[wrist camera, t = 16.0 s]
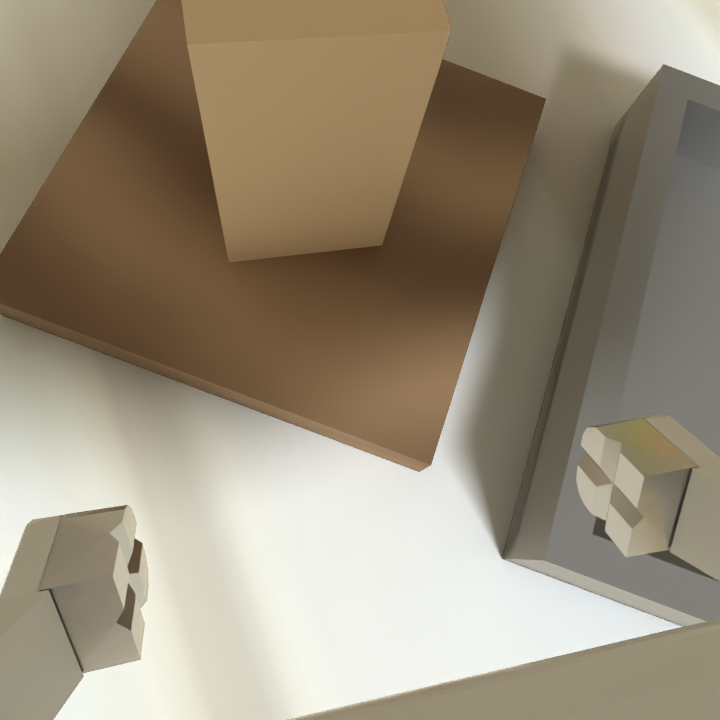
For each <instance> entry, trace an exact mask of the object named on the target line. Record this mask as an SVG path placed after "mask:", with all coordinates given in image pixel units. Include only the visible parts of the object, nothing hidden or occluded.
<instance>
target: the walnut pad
mask: <svg viewBox="0 0 720 720" xmlns="http://www.w3.org/2000/svg"><path fill="white" fill-rule="evenodd" d="M545 101H546V99H545V98H542V97H540V96H537V95H534V94H532V93H529V92H527V91H524V90H521V89H519V88H516V87H513V86H511V85H508V84H506V83H503V82H500V81H498V80H495V79H492V78H490V77H487V76H485V75H482V74H479V73H477V72H474V71H471V70H469V69H466V68H464V67H461V66H458V65H456V64H453V63H450V62H448V61H445V60H443V59H442V61H441V65H440V68H439V71H438V74H437V77H436V80H435V83H434V86H433V89H432V92H431V95H430V99H429V102H428V105H427V108H426V111H425V114H424V117H423V120H422V123H421V126H420V130H419V133H418V136H417V139H416V142H415V145H414V148H413V151H412V154H411V157H410V160H409V164H408V167H407V170H406V173H405V176H404V179H403V182H402V185H401V188H400V191H399V194H398V198H397V201H396V204H395V207H394V210H393V213H392V216H391V219H390V222H389V225H388V228H387V232H386V235H385V238H384V241H383V244H382V245H381V246H372V247H363V248H354V249H345V250H336V251H327V252H318V253H309V254H300V255H291V256H282V257H273V258H264V259H255V260H246V261H238V262H229V261H228V255H227V250H226V245H225V240H224V235H223V229H222V224H221V219H220V214H219V208H218V203H217V198H216V193H215V188H214V182H213V177H212V172H211V167H210V162H209V156H208V151H207V146H206V141H205V135H204V130H203V125H202V120H201V115H200V109H199V104H198V99H197V94H196V89H195V83H194V78H193V73H192V68H191V62H190V57H189V52H188V47H187V40H186V32H185V24H184V17H183V9H182V1H181V0H157V1H156V3H155V4H154V6H153V8H152V9H151V11H150V13H149V14H148V16H147V17H146V19H145V21H144V22H143V24H142V26H141V27H140V29H139V30H138V32H137V34H136V35H135V37H134V39H133V40H132V42H131V43H130V45H129V47H128V48H127V50H126V51H125V53H124V55H123V56H122V58H121V60H120V61H119V63H118V64H117V66H116V68H115V69H114V71H113V73H112V74H111V76H110V77H109V79H108V81H107V82H106V84H105V86H104V87H103V89H102V90H101V92H100V94H99V95H98V97H97V99H96V100H95V102H94V103H93V105H92V107H91V108H90V110H89V112H88V113H87V115H86V116H85V118H84V120H83V121H82V123H81V125H80V126H79V128H78V129H77V131H76V133H75V134H74V136H73V137H72V139H71V141H70V142H69V144H68V146H67V147H66V149H65V150H64V152H63V154H62V155H61V157H60V159H59V160H58V162H57V163H56V165H55V167H54V168H53V170H52V172H51V173H50V175H49V176H48V178H47V180H46V181H45V183H44V185H43V186H42V188H41V189H40V191H39V193H38V194H37V196H36V198H35V199H34V201H33V202H32V204H31V206H30V207H29V209H28V210H27V212H26V214H25V215H24V217H23V219H22V220H21V222H20V223H19V225H18V227H17V228H16V230H15V232H14V233H13V235H12V236H11V238H10V240H9V241H8V243H7V245H6V246H5V248H4V249H3V251H2V253H1V254H0V314H1V315H3V316H6V317H9V318H11V319H14V320H17V321H19V322H22V323H25V324H27V325H30V326H33V327H35V328H38V329H41V330H43V331H46V332H49V333H51V334H54V335H57V336H59V337H62V338H65V339H67V340H70V341H73V342H75V343H78V344H81V345H83V346H86V347H88V348H91V349H94V350H96V351H99V352H102V353H104V354H107V355H110V356H112V357H115V358H118V359H120V360H123V361H126V362H128V363H131V364H134V365H136V366H139V367H142V368H144V369H147V370H150V371H152V372H155V373H158V374H160V375H163V376H166V377H168V378H171V379H174V380H176V381H179V382H182V383H184V384H187V385H190V386H192V387H195V388H198V389H200V390H203V391H206V392H208V393H211V394H214V395H216V396H219V397H222V398H224V399H227V400H230V401H232V402H235V403H238V404H240V405H243V406H246V407H248V408H251V409H254V410H256V411H259V412H262V413H264V414H267V415H270V416H272V417H275V418H278V419H280V420H283V421H286V422H288V423H291V424H294V425H296V426H299V427H302V428H304V429H307V430H310V431H312V432H315V433H317V434H320V435H323V436H325V437H328V438H331V439H333V440H336V441H339V442H341V443H344V444H347V445H349V446H352V447H355V448H357V449H360V450H363V451H365V452H368V453H371V454H373V455H376V456H379V457H381V458H384V459H387V460H389V461H392V462H395V463H397V464H400V465H403V466H405V467H408V468H411V469H413V470H416V471H419V472H420V471H421V470H423V469H425V468H427V467H428V466H430V465H431V463H432V460H433V457H434V454H435V451H436V447H437V444H438V441H439V438H440V435H441V431H442V428H443V425H444V422H445V419H446V416H447V412H448V409H449V406H450V403H451V400H452V396H453V393H454V390H455V387H456V384H457V381H458V377H459V374H460V371H461V368H462V365H463V362H464V358H465V355H466V352H467V349H468V346H469V342H470V339H471V336H472V333H473V330H474V327H475V323H476V320H477V317H478V314H479V311H480V307H481V304H482V301H483V298H484V295H485V292H486V288H487V285H488V282H489V279H490V276H491V272H492V269H493V266H494V263H495V260H496V257H497V253H498V250H499V247H500V244H501V241H502V238H503V234H504V231H505V228H506V225H507V222H508V218H509V215H510V212H511V209H512V206H513V203H514V199H515V196H516V193H517V190H518V187H519V183H520V180H521V177H522V174H523V171H524V168H525V164H526V161H527V158H528V155H529V152H530V148H531V145H532V142H533V139H534V136H535V133H536V129H537V126H538V123H539V120H540V117H541V113H542V110H543V107H544V104H545Z"/></svg>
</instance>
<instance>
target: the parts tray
mask: <svg viewBox="0 0 720 720" xmlns="http://www.w3.org/2000/svg"><path fill="white" fill-rule="evenodd" d="M658 413H663V414H666V415H669V416H671V417H672V418H673V419H674V420H676V421H677V422H678V423H679V424H680V425H682V426H683V427H684V428H685V429H686V430H688V431H689V432H690V433H691V434H692V435H694V436H695V437H696V438H697V439H698V440H700V441H701V442H702V443H703V444H704V445H706V446H707V447H708V448H709V449H710V450H712V451H713V452H714V453H715V454H716V455H718V456H719V457H720V86H719V85H717V84H714V83H711V82H709V81H706V80H704V79H701V78H698V77H696V76H693V75H690V74H688V73H685V72H683V71H680V70H677V69H675V68H672V67H670V66H667V65H663V66H662V67H661V69H660V70H659V71H658V72H657V74H656V75H655V76H654V77H653V79H652V80H651V81H650V83H649V84H648V85H647V86H646V88H645V89H644V90H643V91H642V93H641V94H640V95H639V97H638V98H637V99H636V100H635V102H634V103H633V104H632V105H631V107H630V108H629V109H628V111H627V112H626V113H625V114H624V116H623V117H622V118H621V120H620V121H619V122H618V123H617V125H616V127H615V131H614V134H613V138H612V142H611V146H610V150H609V153H608V157H607V161H606V165H605V169H604V172H603V176H602V180H601V184H600V188H599V191H598V195H597V199H596V203H595V207H594V210H593V214H592V218H591V222H590V226H589V229H588V233H587V237H586V241H585V245H584V248H583V252H582V256H581V260H580V264H579V267H578V271H577V275H576V279H575V283H574V286H573V290H572V294H571V298H570V302H569V306H568V309H567V313H566V317H565V321H564V325H563V328H562V332H561V336H560V340H559V344H558V347H557V351H556V355H555V359H554V363H553V366H552V370H551V374H550V378H549V382H548V385H547V389H546V393H545V397H544V401H543V404H542V408H541V412H540V416H539V420H538V423H537V427H536V431H535V435H534V439H533V442H532V446H531V450H530V454H529V458H528V461H527V465H526V469H525V473H524V477H523V480H522V484H521V488H520V492H519V496H518V499H517V503H516V507H515V511H514V515H513V518H512V522H511V526H510V530H509V534H508V537H507V541H506V545H505V549H504V553H503V556H502V559H504V560H507V561H510V562H512V563H515V564H518V565H520V566H523V567H526V568H528V569H531V570H534V571H536V572H539V573H542V574H544V575H547V576H550V577H552V578H555V579H558V580H560V581H563V582H566V583H568V584H571V585H574V586H576V587H579V588H582V589H584V590H587V591H590V592H592V593H595V594H598V595H600V596H603V597H606V598H608V599H611V600H614V601H616V602H619V603H622V604H624V605H627V606H630V607H632V608H635V609H638V610H640V611H643V612H646V613H648V614H651V615H654V616H656V617H659V618H662V619H664V620H667V621H670V622H672V623H675V624H678V625H680V626H683V627H685V626H689V625H693V624H698V623H702V622H706V621H710V620H715V619H719V618H720V581H718V580H716V579H714V578H713V577H711V576H709V575H708V574H706V573H704V572H703V571H701V570H699V569H698V568H696V567H694V566H693V565H691V564H689V563H688V562H686V561H684V560H683V559H681V558H679V557H678V556H676V555H674V554H672V553H671V552H670V550H665V551H659V552H653V553H648V554H642V555H637V556H631V557H625V556H624V554H623V553H622V552H621V551H620V549H619V548H618V547H617V546H616V544H615V543H614V542H613V541H612V539H611V538H610V537H609V536H608V534H607V533H606V532H605V524H606V521H605V520H603V519H601V518H599V517H597V516H595V515H593V514H591V513H590V511H589V510H588V509H587V507H586V506H585V505H584V503H583V501H582V499H581V497H580V495H579V491H578V486H577V481H576V476H577V467H578V464H579V463H580V462H581V460H582V459H583V458H584V457H585V455H586V454H587V453H586V452H585V450H584V449H583V448H582V446H581V442H582V436H583V433H584V432H585V430H586V428H587V427H591V426H597V425H603V424H608V423H614V422H620V421H625V420H631V419H636V418H638V417H643V416H648V415H653V414H658Z"/></svg>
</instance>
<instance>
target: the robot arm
mask: <svg viewBox="0 0 720 720" xmlns="http://www.w3.org/2000/svg"><path fill="white" fill-rule="evenodd" d="M581 446H582V448H583V449H584V450H585V452H586V453H587V454H586V455H585V457H584V458H583V459H582V460H581V462H580V463H579V464H578V467H577V476H576V481H577V486H578V491H579V495H580V497H581V499H582V501H583V503H584V505H585V506H586V507H587V509H588V510H589V511H590V513H591V514H593V515H595V516H597V517H599V518H601V519H603V520H605V521H606V524H605V532H606V533H607V534H608V536H609V537H610V538H611V539H612V541H613V542H614V543H615V544H616V546H617V547H618V548H619V549H620V551H621V552H622V553H623V554H624V556H625V557H631V556H637V555H642V554H648V553H653V552H659V551H665V550H670V552H671V553H672V554H674V555H676V556H678V557H679V558H681V559H683V560H684V561H686V562H688V563H689V564H691V565H693V566H694V567H696V568H698V569H699V570H701V571H703V572H704V573H706V574H708V575H709V576H711V577H713V578H714V579H716V580H718V581H720V457H719V456H718V455H716V454H715V453H714V452H713V451H712V450H710V449H709V448H708V447H707V446H706V445H704V444H703V443H702V442H701V441H700V440H698V439H697V438H696V437H695V436H694V435H692V434H691V433H690V432H689V431H688V430H686V429H685V428H684V427H683V426H682V425H680V424H679V423H678V422H677V421H676V420H674V419H673V418H672V417H671V416H669V415H666V414H663V413H658V414H653V415H648V416H643V417H638V418H636V419H631V420H625V421H620V422H614V423H608V424H603V425H597V426H591V427H587V428H586V430H585V432H584V433H583V436H582V442H581ZM136 524H137V523H136V520H135V517H134V514H133V511H132V508H131V507H130V506H128V505H125V506H118V507H111V508H104V509H98V510H91V511H84V512H77V513H71V514H65V515H60V516H53V517H47V518H40V519H34V520H32V521H31V522H29V523H28V524H27V526H26V527H25V530H24V532H23V535H22V538H21V540H20V543H19V546H18V548H17V551H16V554H15V556H14V559H13V562H12V564H11V567H10V570H9V572H8V575H7V578H6V580H5V583H4V586H3V588H2V591H1V594H0V720H53V719H54V718H55V716H56V715H57V714H58V712H59V711H60V709H61V708H62V706H63V705H64V704H65V702H66V701H67V699H68V698H69V696H70V695H71V694H72V692H73V691H74V689H75V688H76V686H77V685H78V684H79V682H80V681H81V679H82V678H83V677H84V676H83V673H86V672H90V671H94V670H98V669H103V668H107V667H111V666H115V665H119V664H124V663H128V662H132V661H136V660H140V659H141V650H142V641H143V633H144V624H145V623H144V620H143V617H142V613H141V610H140V608H141V607H142V606H143V605H144V604H145V602H146V601H147V596H148V567H147V561H146V555H145V551H144V547H143V544H142V543H141V542H139V541H138V540H136V539H135V531H136ZM288 720H720V618H719V619H715V620H710V621H706V622H702V623H698V624H693V625H689V626H685V627H681V628H676V629H672V630H668V631H663V632H659V633H655V634H651V635H646V636H642V637H638V638H634V639H629V640H625V641H621V642H617V643H612V644H608V645H604V646H600V647H595V648H591V649H587V650H582V651H578V652H574V653H570V654H565V655H561V656H557V657H553V658H548V659H544V660H540V661H536V662H531V663H527V664H523V665H518V666H514V667H510V668H506V669H501V670H497V671H493V672H489V673H484V674H480V675H476V676H472V677H467V678H463V679H459V680H455V681H450V682H446V683H442V684H437V685H433V686H429V687H425V688H420V689H416V690H412V691H408V692H403V693H399V694H395V695H391V696H386V697H382V698H378V699H374V700H369V701H365V702H361V703H357V704H352V705H348V706H344V707H339V708H335V709H331V710H327V711H322V712H318V713H314V714H310V715H305V716H301V717H297V718H293V719H288Z"/></svg>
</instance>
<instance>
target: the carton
mask: <svg viewBox="0 0 720 720" xmlns="http://www.w3.org/2000/svg"><path fill="white" fill-rule="evenodd" d="M181 1H182V9H183V17H184V24H185V32H186V40H187V47H188V52H189V57H190V62H191V68H192V73H193V78H194V83H195V89H196V94H197V99H198V104H199V109H200V115H201V120H202V125H203V130H204V135H205V141H206V146H207V151H208V156H209V162H210V167H211V172H212V177H213V182H214V188H215V193H216V198H217V203H218V208H219V214H220V219H221V224H222V229H223V235H224V240H225V245H226V250H227V255H228V261H229V262H238V261H246V260H255V259H264V258H273V257H282V256H291V255H300V254H309V253H318V252H327V251H336V250H345V249H354V248H363V247H372V246H381V245H382V244H383V241H384V238H385V235H386V232H387V228H388V225H389V222H390V219H391V216H392V213H393V210H394V207H395V204H396V201H397V198H398V194H399V191H400V188H401V185H402V182H403V179H404V176H405V173H406V170H407V167H408V164H409V160H410V157H411V154H412V151H413V148H414V145H415V142H416V139H417V136H418V133H419V130H420V126H421V123H422V120H423V117H424V114H425V111H426V108H427V105H428V102H429V99H430V95H431V92H432V89H433V86H434V83H435V80H436V77H437V74H438V71H439V68H440V65H441V61H442V58H443V55H444V52H445V49H446V46H447V43H448V40H449V37H450V34H451V27H450V23H449V20H448V16H447V12H446V9H445V5H444V1H443V0H181Z"/></svg>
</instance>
